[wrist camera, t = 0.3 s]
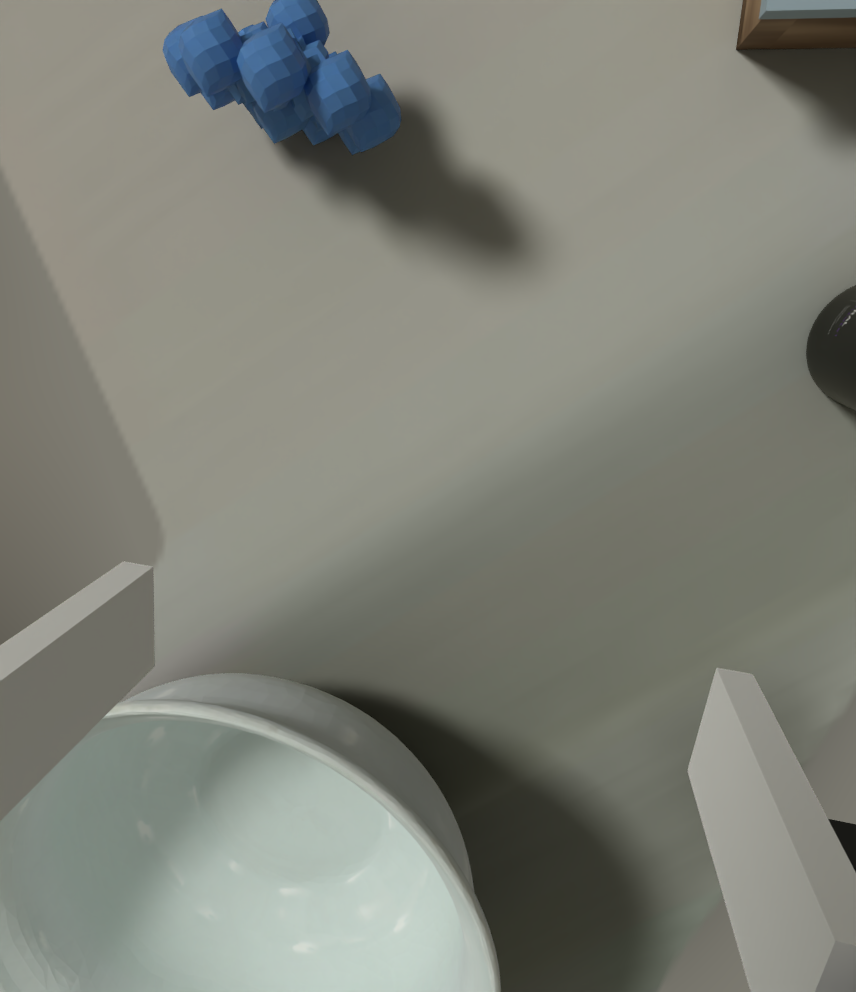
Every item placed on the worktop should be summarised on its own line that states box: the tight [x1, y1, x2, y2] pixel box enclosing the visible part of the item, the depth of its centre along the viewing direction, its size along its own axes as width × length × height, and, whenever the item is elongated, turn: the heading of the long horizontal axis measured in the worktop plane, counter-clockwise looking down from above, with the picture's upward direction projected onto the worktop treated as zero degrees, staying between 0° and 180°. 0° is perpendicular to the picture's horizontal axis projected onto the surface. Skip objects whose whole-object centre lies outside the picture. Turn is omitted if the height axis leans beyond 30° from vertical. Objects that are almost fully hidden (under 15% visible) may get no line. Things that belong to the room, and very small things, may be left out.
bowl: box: [0, 673, 501, 992], centre depth 46 cm, size 32×32×15 cm
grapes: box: [163, 0, 401, 155], centre depth 33 cm, size 12×7×12 cm, turn 73°
